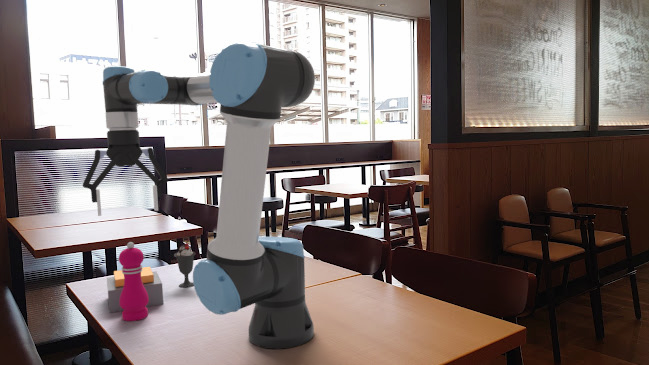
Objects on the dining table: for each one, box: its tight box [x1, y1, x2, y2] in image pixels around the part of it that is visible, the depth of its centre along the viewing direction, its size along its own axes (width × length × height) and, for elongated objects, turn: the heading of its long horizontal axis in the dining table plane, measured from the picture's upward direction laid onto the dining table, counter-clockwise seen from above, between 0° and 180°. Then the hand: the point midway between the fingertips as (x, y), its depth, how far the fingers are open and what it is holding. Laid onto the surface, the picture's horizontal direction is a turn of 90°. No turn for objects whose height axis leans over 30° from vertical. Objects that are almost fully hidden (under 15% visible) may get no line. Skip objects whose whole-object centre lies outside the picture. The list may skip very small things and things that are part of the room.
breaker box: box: [106, 271, 164, 313], centre depth 146 cm, size 14×14×6 cm
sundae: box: [173, 238, 197, 288], centre depth 159 cm, size 7×7×15 cm
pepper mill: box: [118, 241, 149, 322], centre depth 132 cm, size 7×7×20 cm
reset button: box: [113, 266, 154, 287], centre depth 145 cm, size 10×10×7 cm
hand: (128, 212), depth 130 cm, fingers open, 13 cm apart
